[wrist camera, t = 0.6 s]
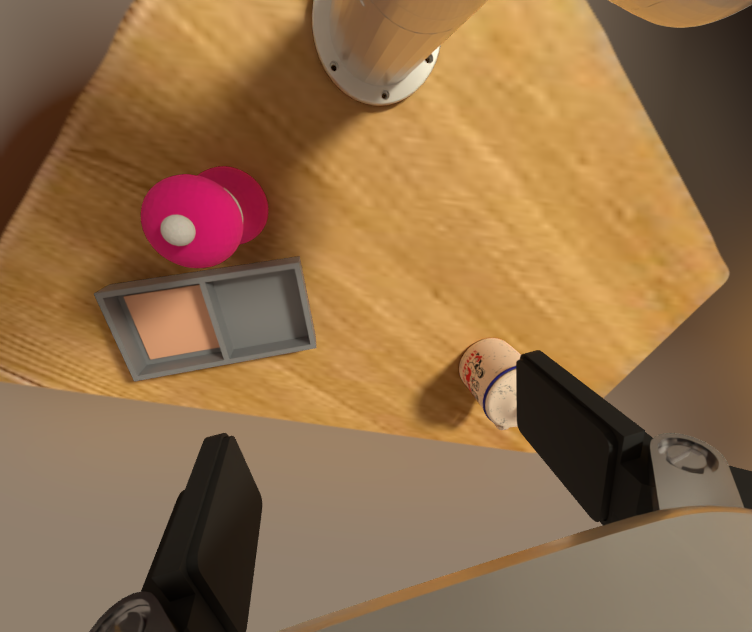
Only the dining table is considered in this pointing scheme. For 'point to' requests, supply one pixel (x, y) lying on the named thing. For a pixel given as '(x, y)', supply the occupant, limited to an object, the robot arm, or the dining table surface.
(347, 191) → the dining table surface
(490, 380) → the teacup with lid
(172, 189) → the pepper mill
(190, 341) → the tray
